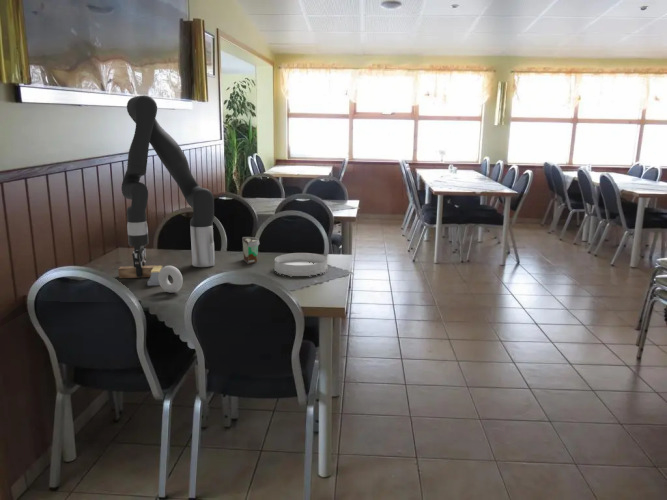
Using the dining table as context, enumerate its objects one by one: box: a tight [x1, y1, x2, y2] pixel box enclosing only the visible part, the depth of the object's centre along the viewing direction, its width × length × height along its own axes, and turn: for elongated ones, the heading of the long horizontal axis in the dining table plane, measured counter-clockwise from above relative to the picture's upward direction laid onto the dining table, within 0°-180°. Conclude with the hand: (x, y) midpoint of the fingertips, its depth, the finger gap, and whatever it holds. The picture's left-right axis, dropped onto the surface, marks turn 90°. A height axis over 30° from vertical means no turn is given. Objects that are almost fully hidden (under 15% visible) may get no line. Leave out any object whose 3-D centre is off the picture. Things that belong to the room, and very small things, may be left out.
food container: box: [241, 236, 260, 265], centre depth 243 cm, size 12×6×10 cm, turn 22°
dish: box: [274, 252, 328, 275], centre depth 230 cm, size 22×22×5 cm
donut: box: [158, 265, 184, 294], centre depth 197 cm, size 10×4×10 cm, turn 67°
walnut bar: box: [118, 264, 163, 279], centre depth 219 cm, size 16×4×4 cm, turn 98°
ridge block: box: [146, 265, 163, 286], centre depth 210 cm, size 6×8×6 cm
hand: (141, 274), depth 219 cm, fingers open, 5 cm apart
